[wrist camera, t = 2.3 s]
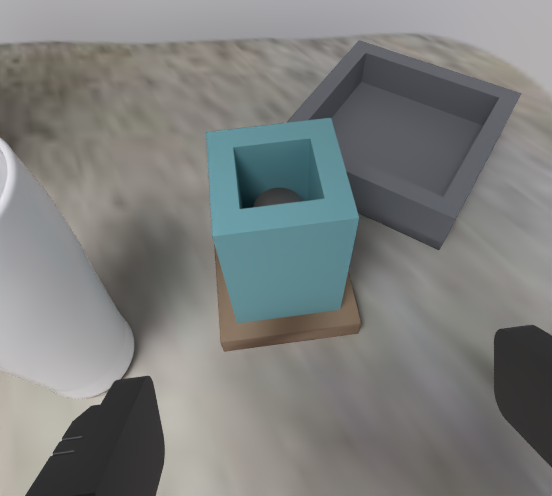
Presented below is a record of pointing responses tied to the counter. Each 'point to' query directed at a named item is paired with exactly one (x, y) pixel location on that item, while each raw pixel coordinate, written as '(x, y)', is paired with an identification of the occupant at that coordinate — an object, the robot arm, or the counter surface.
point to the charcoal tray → (409, 136)
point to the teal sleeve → (281, 218)
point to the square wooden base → (284, 327)
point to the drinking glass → (52, 296)
